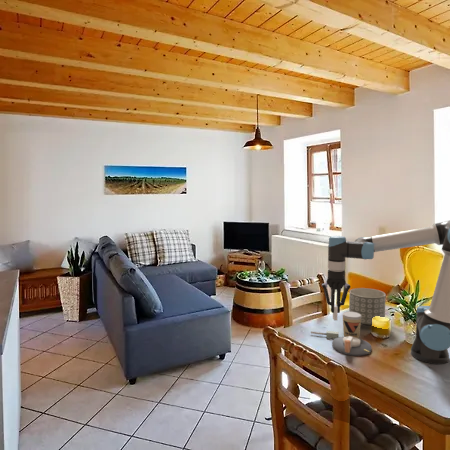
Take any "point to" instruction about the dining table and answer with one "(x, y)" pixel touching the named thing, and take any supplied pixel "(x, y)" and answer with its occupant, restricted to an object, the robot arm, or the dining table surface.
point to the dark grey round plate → (354, 351)
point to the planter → (367, 304)
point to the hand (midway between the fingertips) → (335, 319)
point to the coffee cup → (351, 324)
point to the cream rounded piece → (350, 343)
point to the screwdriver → (328, 334)
